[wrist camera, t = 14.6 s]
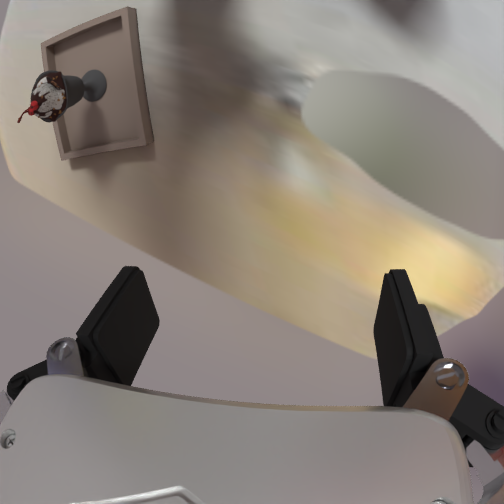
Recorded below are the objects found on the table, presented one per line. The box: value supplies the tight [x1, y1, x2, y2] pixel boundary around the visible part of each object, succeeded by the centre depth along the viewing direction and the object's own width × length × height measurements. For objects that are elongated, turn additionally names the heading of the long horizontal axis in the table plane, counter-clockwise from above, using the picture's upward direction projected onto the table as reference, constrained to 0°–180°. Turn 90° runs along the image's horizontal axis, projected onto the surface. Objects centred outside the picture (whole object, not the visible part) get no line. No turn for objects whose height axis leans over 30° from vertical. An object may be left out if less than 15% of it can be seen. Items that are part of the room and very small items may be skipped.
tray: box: [41, 7, 154, 161], centre depth 37 cm, size 20×16×2 cm
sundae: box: [18, 70, 107, 123], centre depth 31 cm, size 7×7×15 cm
